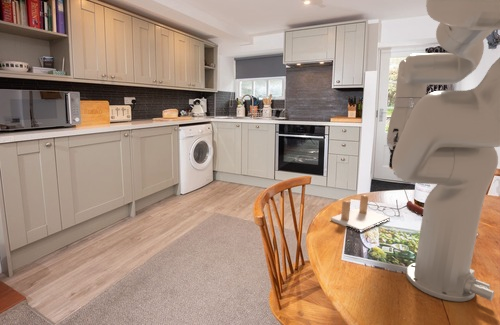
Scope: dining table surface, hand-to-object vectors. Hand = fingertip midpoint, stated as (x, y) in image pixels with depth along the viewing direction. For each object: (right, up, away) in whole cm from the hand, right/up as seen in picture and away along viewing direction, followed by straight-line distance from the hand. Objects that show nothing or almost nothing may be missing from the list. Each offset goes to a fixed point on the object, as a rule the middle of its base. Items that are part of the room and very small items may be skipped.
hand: (401, 166), depth 86 cm
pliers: (+16, -18, +15) cm, 28 cm away
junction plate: (-9, -18, +9) cm, 22 cm away
